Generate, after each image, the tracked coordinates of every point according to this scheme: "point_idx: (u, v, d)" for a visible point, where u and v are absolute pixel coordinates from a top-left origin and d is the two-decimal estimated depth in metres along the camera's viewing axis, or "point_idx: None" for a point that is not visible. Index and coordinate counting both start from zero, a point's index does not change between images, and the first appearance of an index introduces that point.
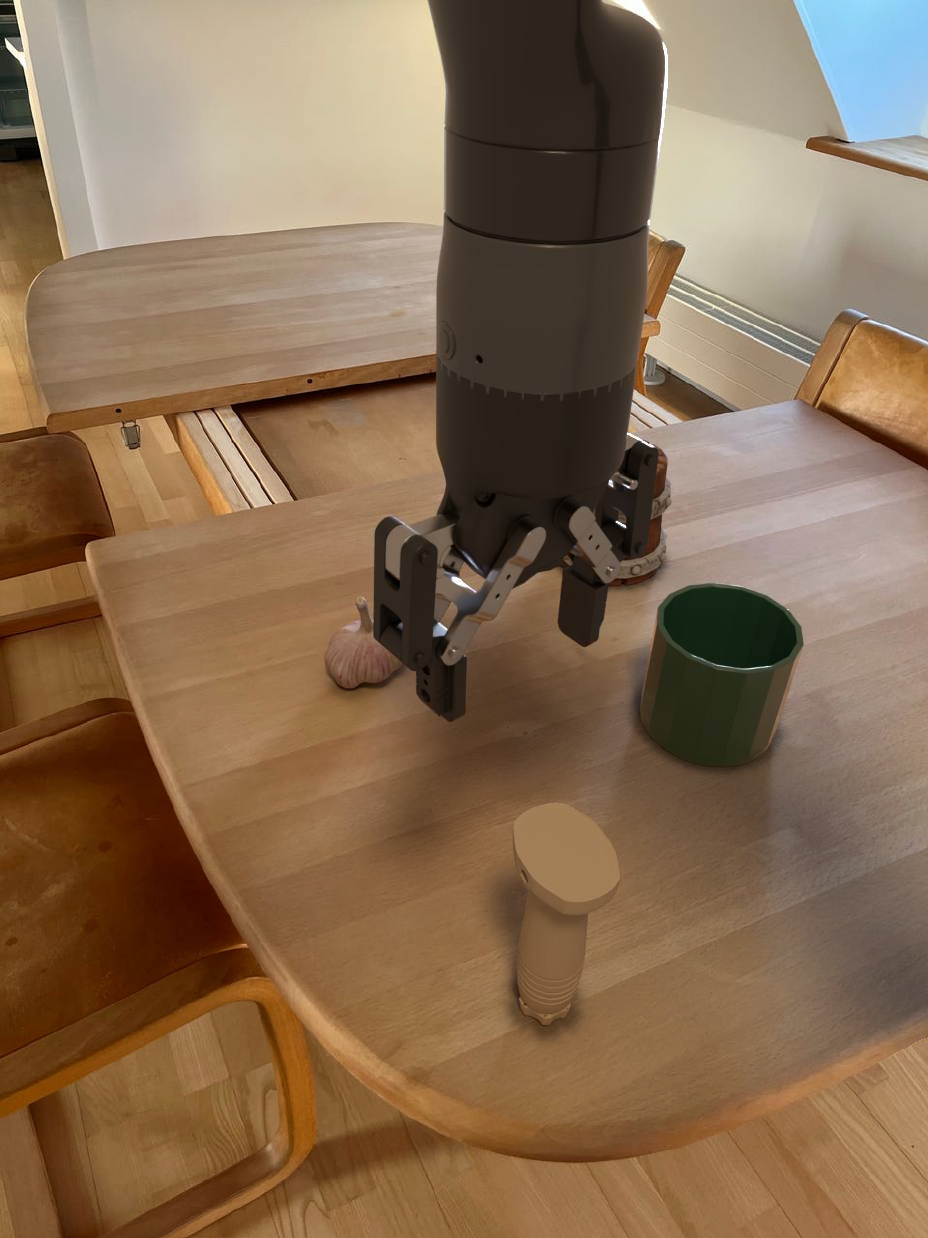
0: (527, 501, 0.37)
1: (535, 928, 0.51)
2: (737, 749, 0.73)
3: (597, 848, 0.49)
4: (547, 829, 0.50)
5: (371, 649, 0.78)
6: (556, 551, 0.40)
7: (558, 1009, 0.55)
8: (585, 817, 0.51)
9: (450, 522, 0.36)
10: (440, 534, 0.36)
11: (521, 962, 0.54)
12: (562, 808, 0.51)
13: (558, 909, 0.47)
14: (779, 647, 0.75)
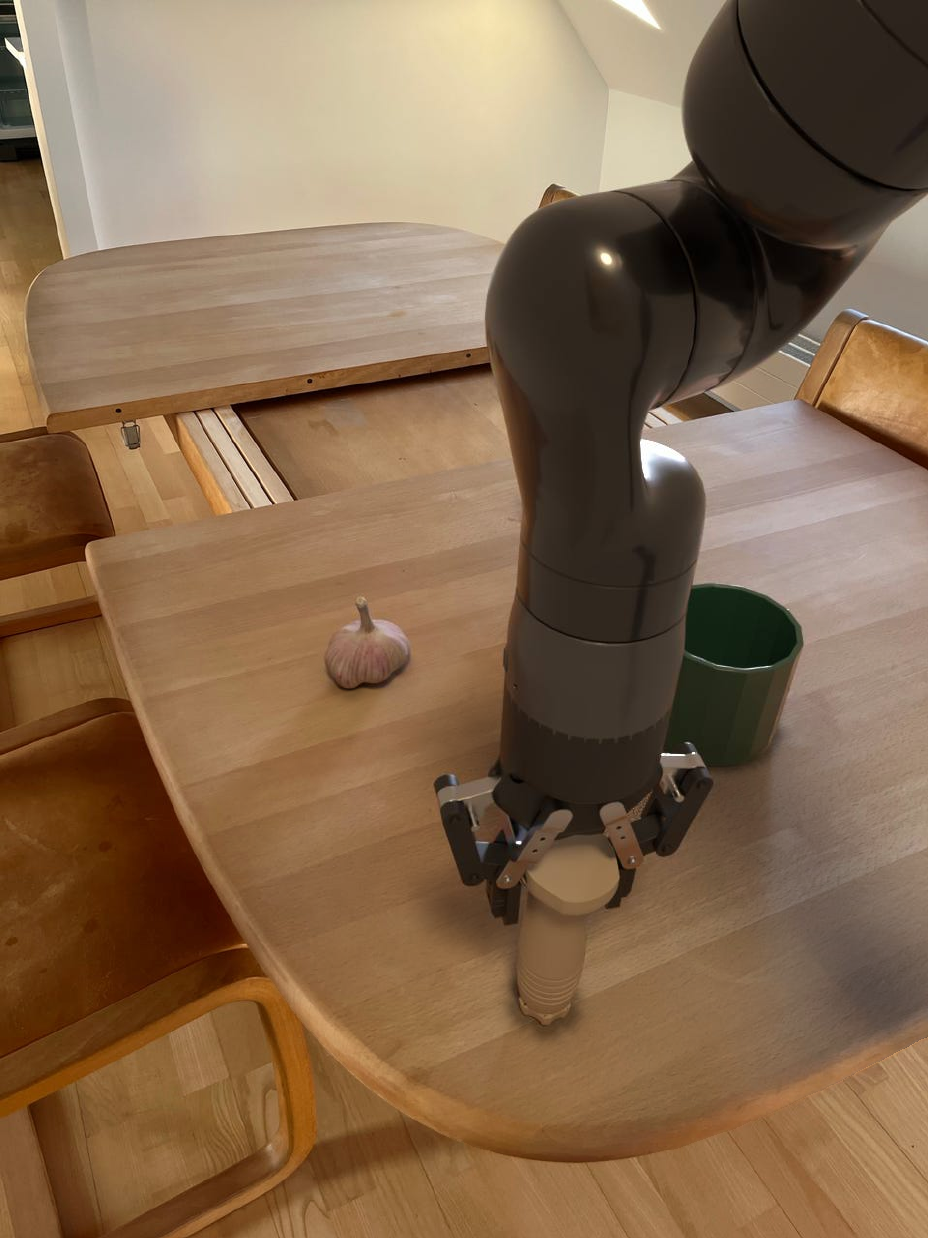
0: None
1: (534, 928, 0.51)
2: (737, 749, 0.73)
3: (596, 848, 0.49)
4: None
5: (371, 649, 0.78)
6: (595, 823, 0.46)
7: (558, 1009, 0.55)
8: None
9: (489, 788, 0.44)
10: (477, 798, 0.44)
11: (521, 962, 0.54)
12: None
13: (557, 909, 0.47)
14: (779, 647, 0.75)
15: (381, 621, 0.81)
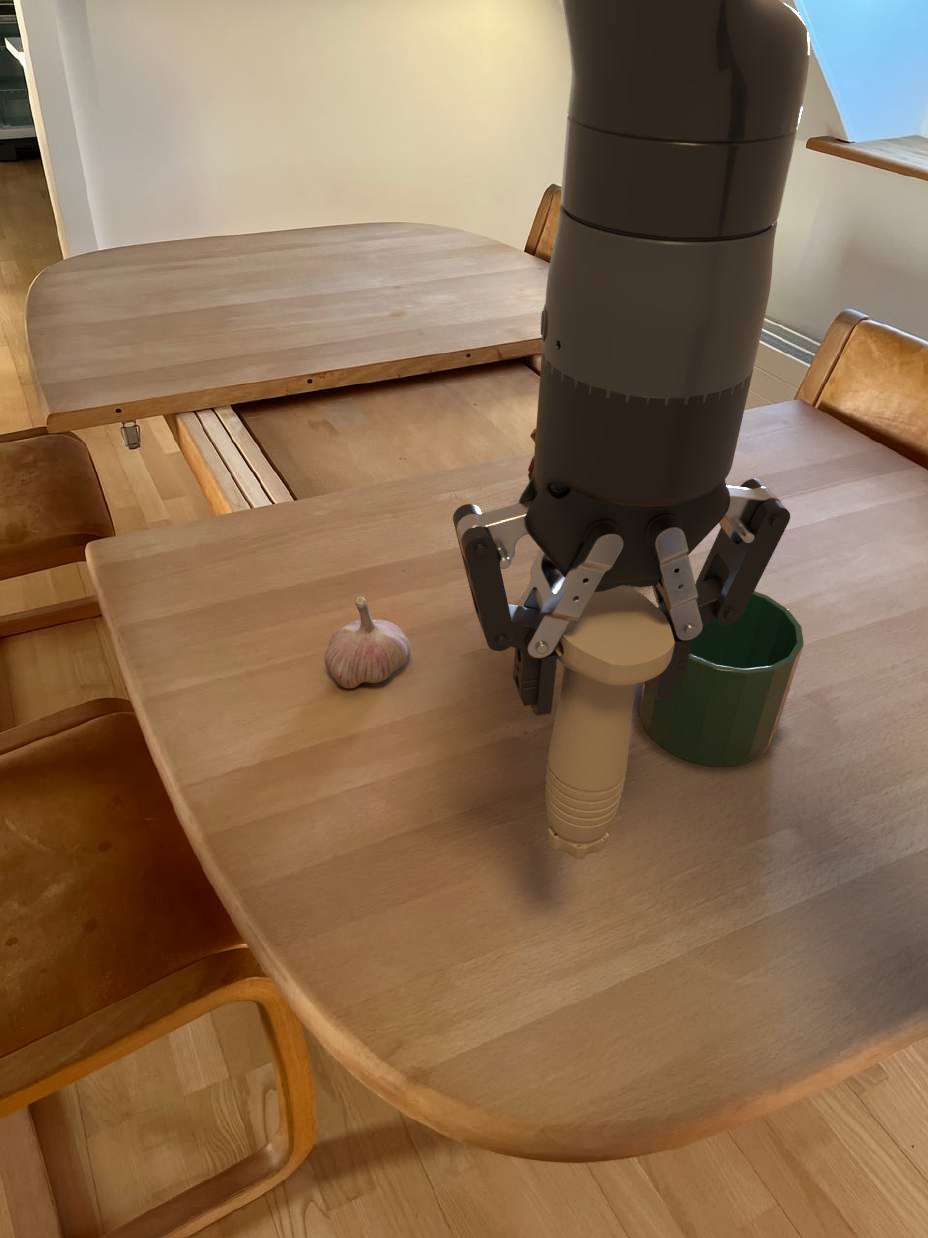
0: (611, 505, 0.36)
1: (570, 723, 0.43)
2: (737, 749, 0.73)
3: (645, 616, 0.41)
4: None
5: (371, 649, 0.78)
6: (648, 568, 0.38)
7: (595, 835, 0.47)
8: (629, 588, 0.43)
9: (521, 513, 0.36)
10: (507, 525, 0.36)
11: (552, 775, 0.46)
12: None
13: (601, 678, 0.39)
14: (779, 647, 0.75)
15: (381, 621, 0.81)
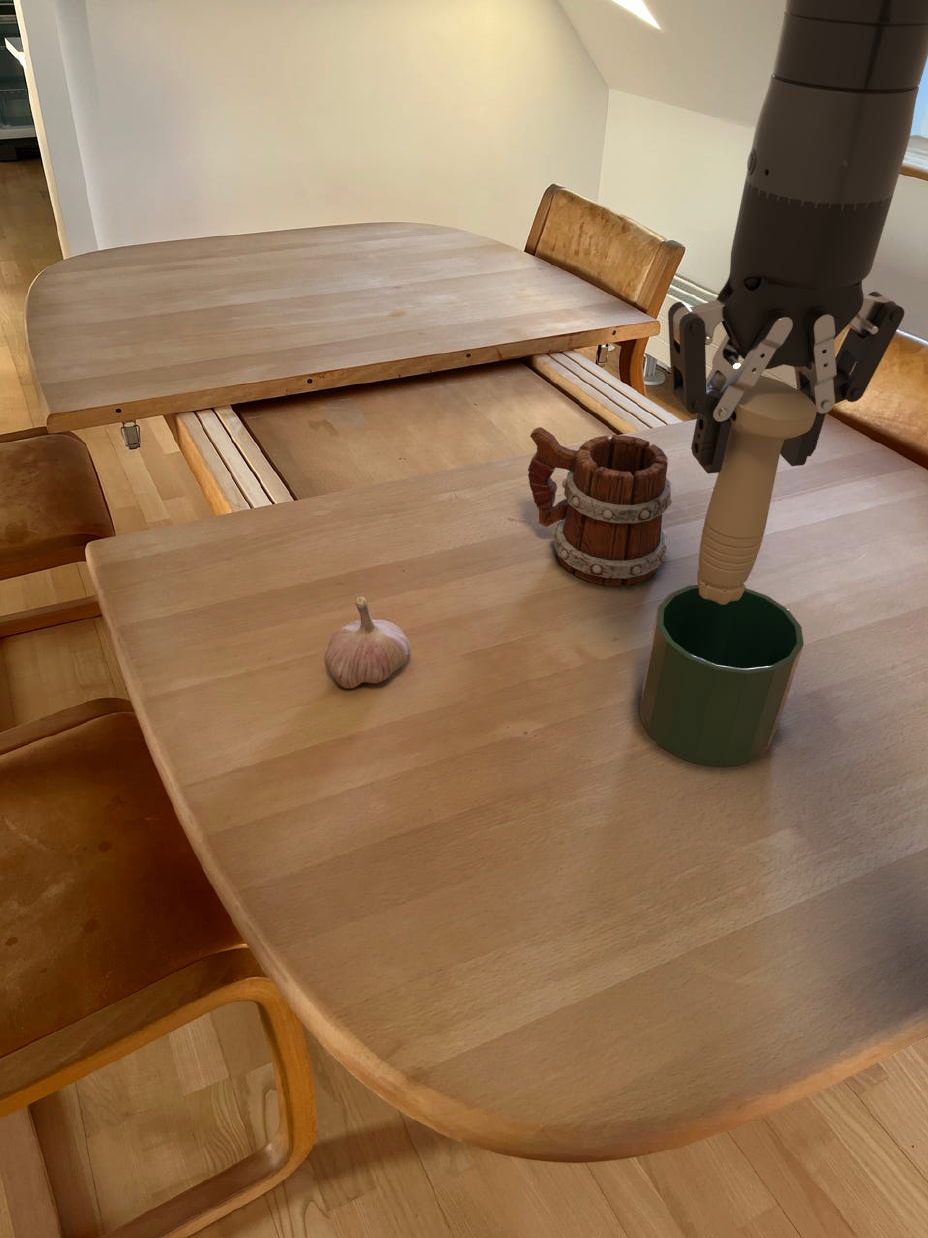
0: (784, 298, 0.52)
1: (731, 481, 0.59)
2: (737, 749, 0.73)
3: (792, 395, 0.57)
4: None
5: (371, 649, 0.78)
6: (803, 351, 0.54)
7: (738, 581, 0.63)
8: (776, 380, 0.58)
9: (720, 304, 0.52)
10: (711, 313, 0.52)
11: (710, 531, 0.62)
12: None
13: (766, 433, 0.55)
14: (779, 647, 0.75)
15: (381, 621, 0.81)
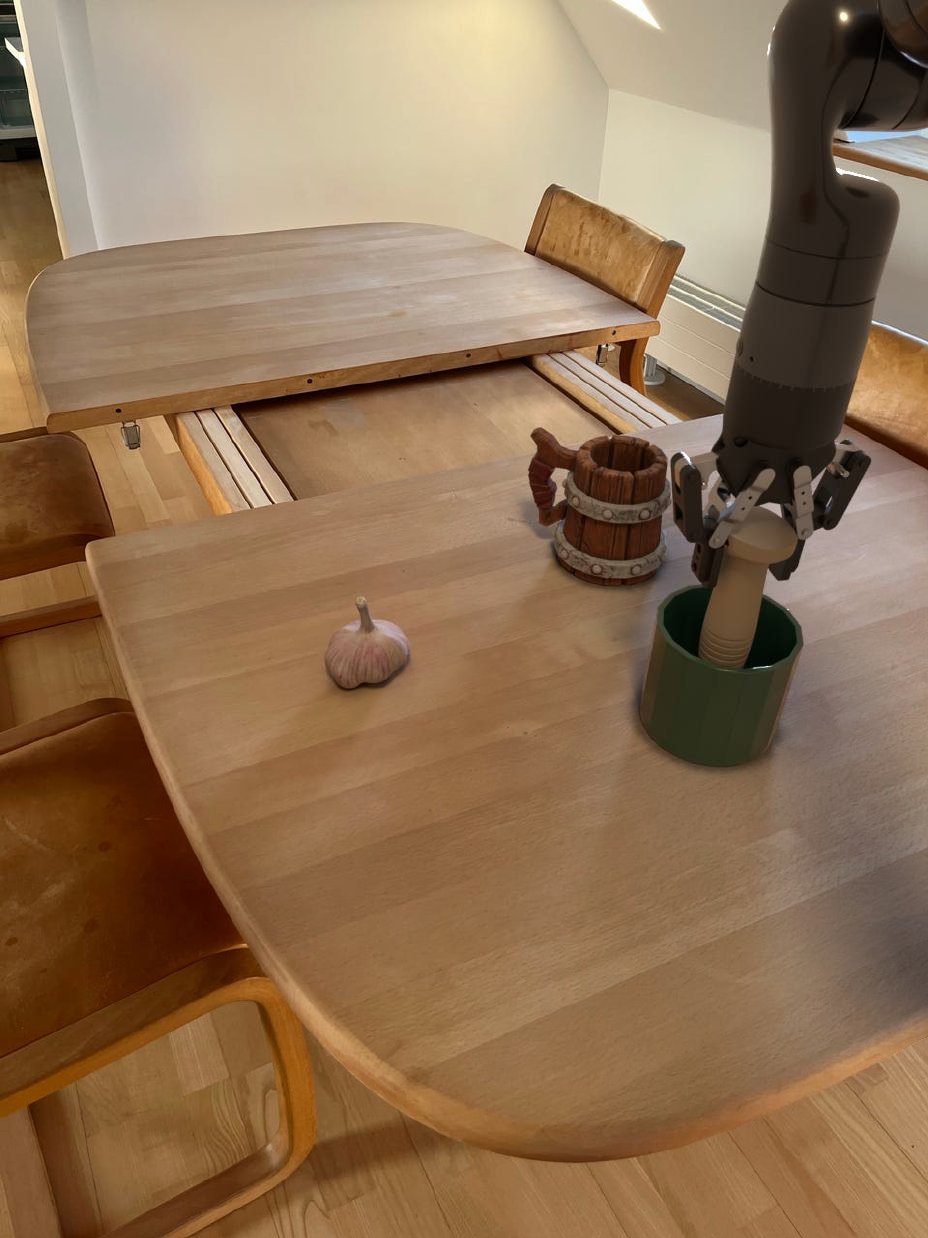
0: (768, 452, 0.61)
1: (725, 594, 0.69)
2: (737, 749, 0.73)
3: (777, 524, 0.67)
4: None
5: (371, 649, 0.78)
6: (785, 492, 0.64)
7: None
8: (764, 508, 0.68)
9: (714, 456, 0.62)
10: (706, 463, 0.62)
11: (708, 633, 0.72)
12: None
13: (754, 559, 0.65)
14: (779, 647, 0.75)
15: (381, 621, 0.81)
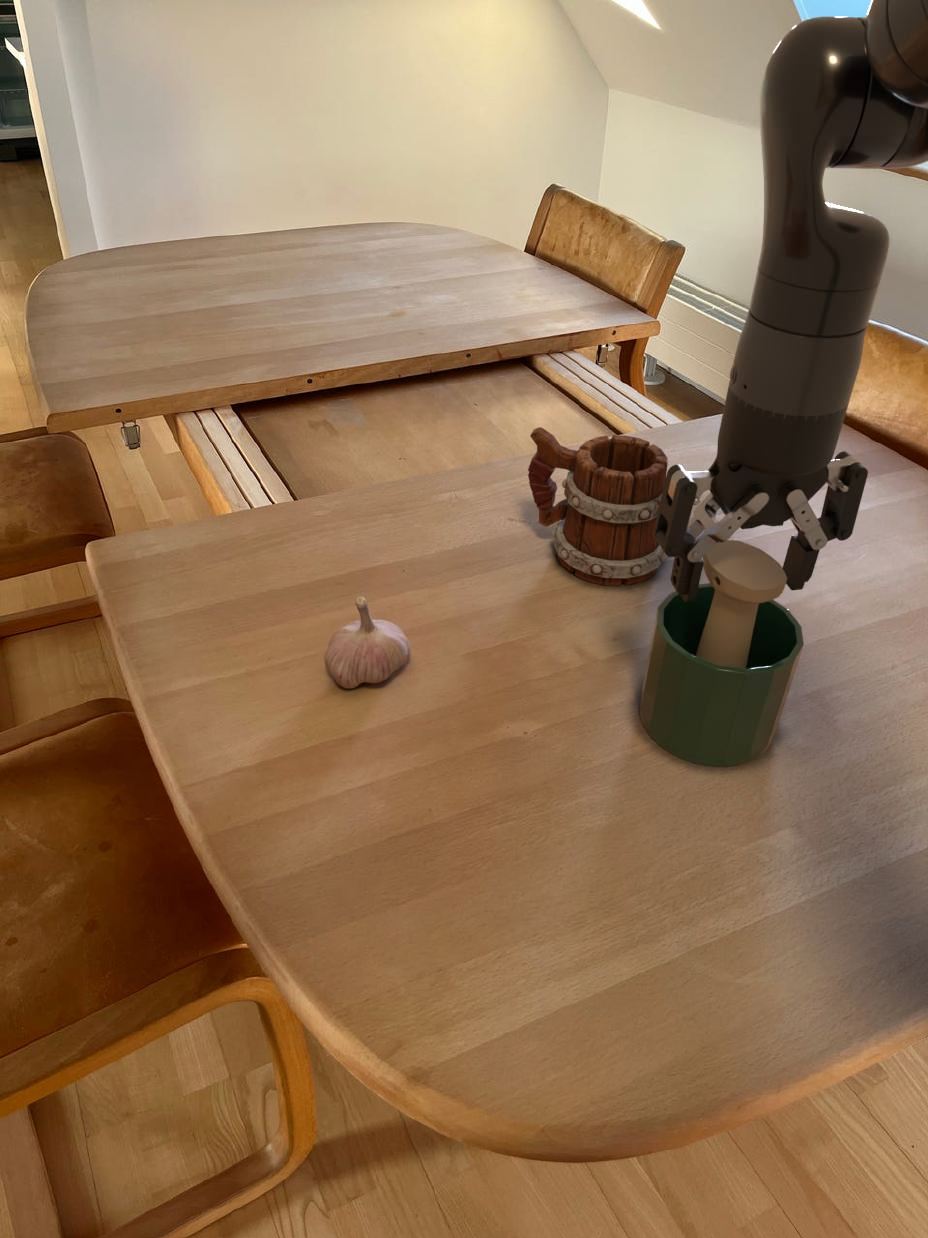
0: (762, 476, 0.63)
1: (717, 630, 0.71)
2: (737, 749, 0.73)
3: (767, 563, 0.69)
4: (729, 553, 0.69)
5: (371, 649, 0.78)
6: (778, 515, 0.65)
7: None
8: (755, 547, 0.70)
9: (711, 476, 0.63)
10: (703, 481, 0.63)
11: None
12: (737, 542, 0.71)
13: (744, 598, 0.67)
14: (779, 647, 0.75)
15: (381, 621, 0.81)
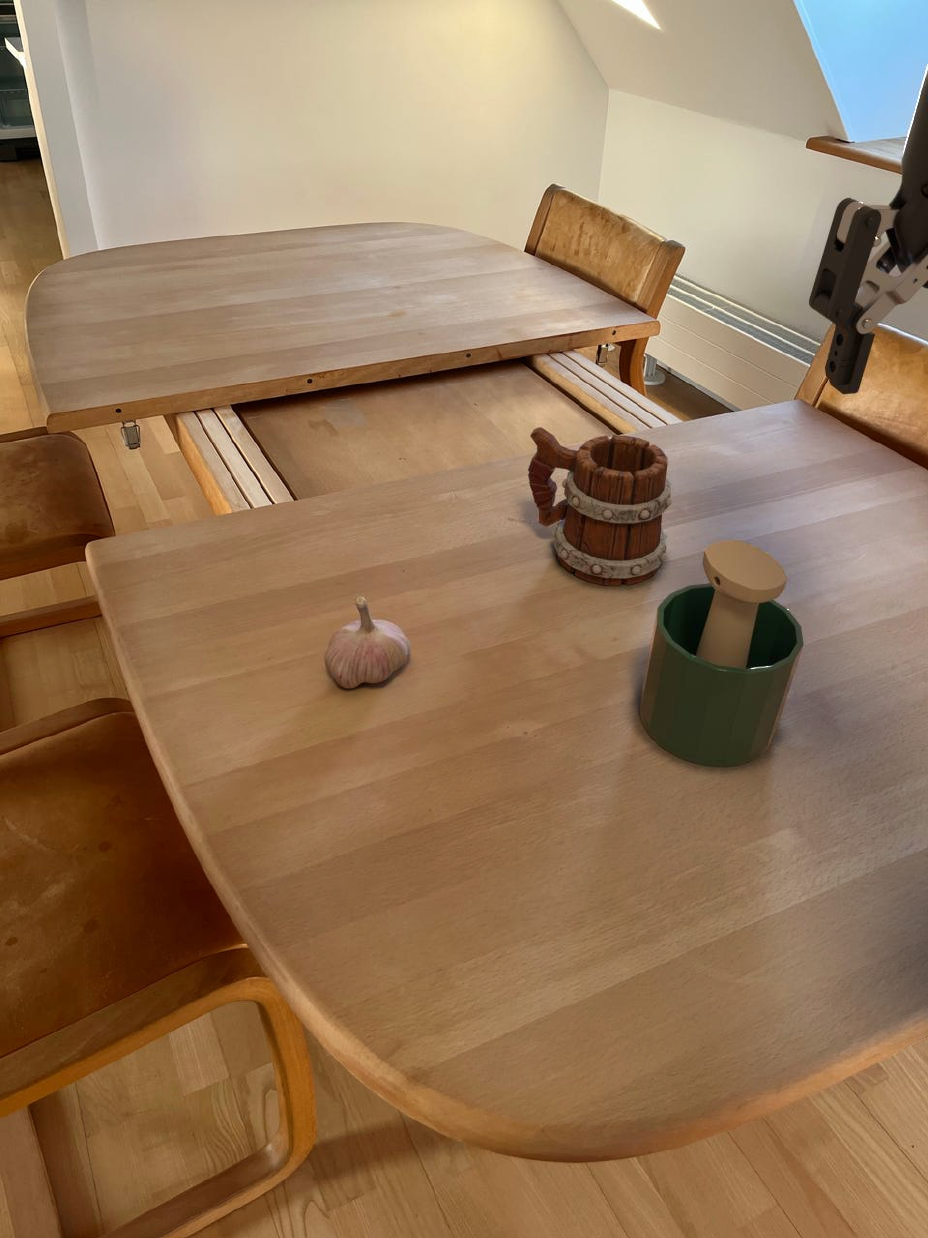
0: None
1: (717, 630, 0.71)
2: (737, 749, 0.73)
3: (767, 563, 0.69)
4: (729, 553, 0.69)
5: (371, 649, 0.78)
6: None
7: None
8: (755, 547, 0.70)
9: (896, 208, 0.49)
10: (886, 214, 0.49)
11: None
12: (737, 542, 0.71)
13: (744, 598, 0.67)
14: (779, 647, 0.75)
15: (381, 621, 0.81)
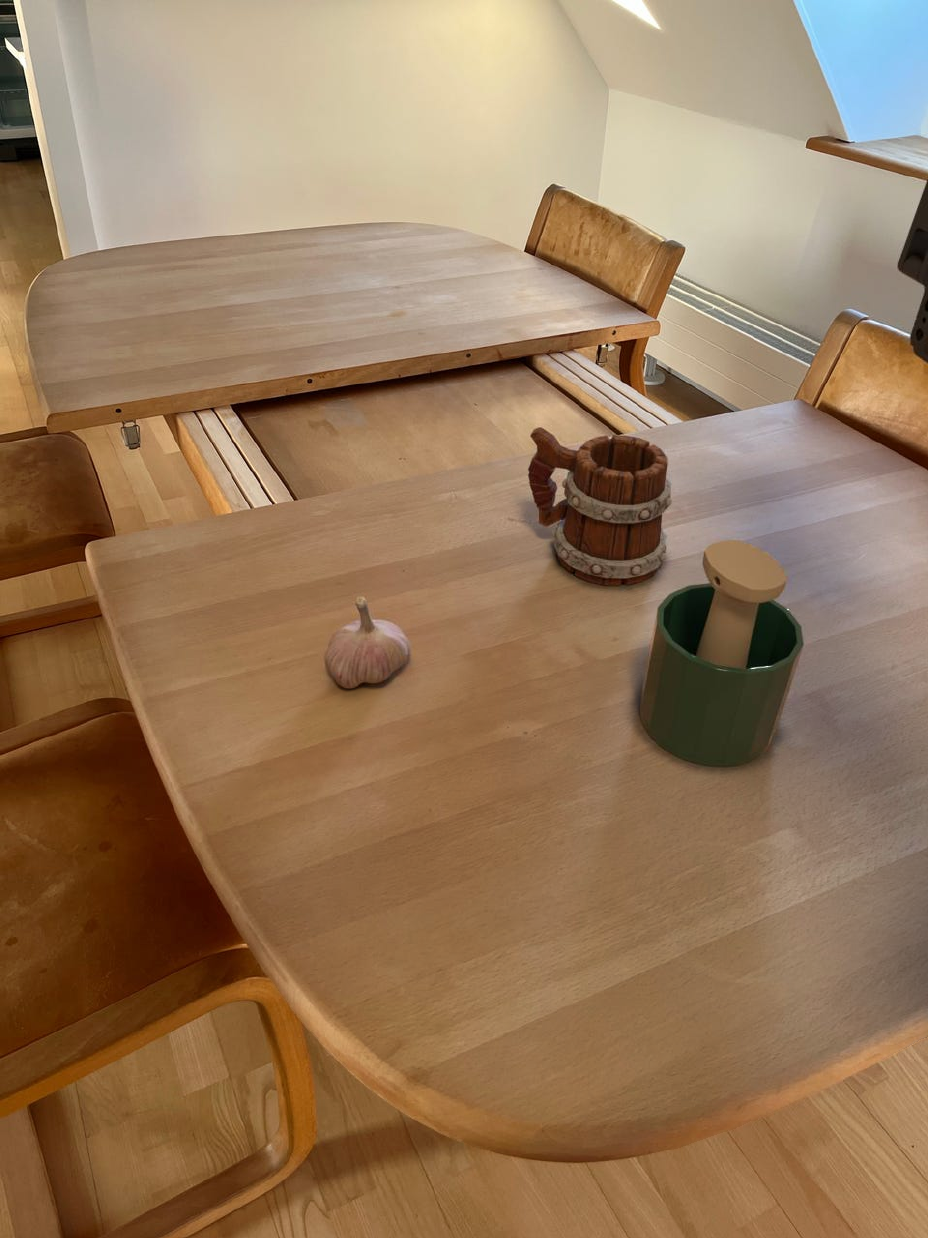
0: None
1: (717, 630, 0.71)
2: (737, 749, 0.73)
3: (767, 563, 0.69)
4: (729, 553, 0.69)
5: (371, 649, 0.78)
6: None
7: None
8: (755, 547, 0.70)
9: None
10: None
11: None
12: (737, 542, 0.71)
13: (744, 598, 0.67)
14: (779, 647, 0.75)
15: (381, 621, 0.81)
